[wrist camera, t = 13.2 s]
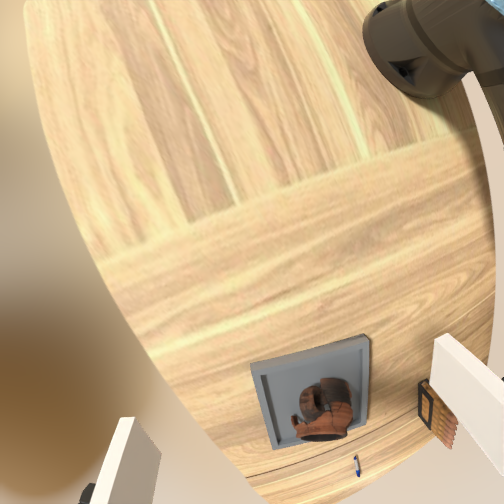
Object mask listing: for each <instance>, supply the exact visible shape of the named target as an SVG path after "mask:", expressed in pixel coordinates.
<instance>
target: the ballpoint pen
mask: <svg viewBox="0 0 504 504" xmlns="http://www.w3.org/2000/svg"><path fill="white" fill-rule="evenodd" d="M354 463H355V467H356V473H357V476H358V477H360V471H359V467H358V462H357V458H356V456H355V457H354Z"/></svg>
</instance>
